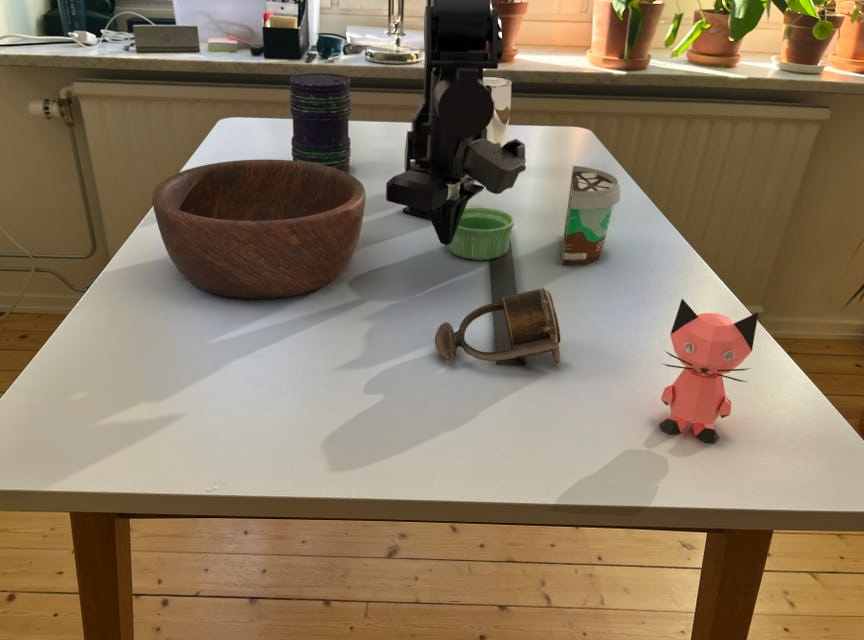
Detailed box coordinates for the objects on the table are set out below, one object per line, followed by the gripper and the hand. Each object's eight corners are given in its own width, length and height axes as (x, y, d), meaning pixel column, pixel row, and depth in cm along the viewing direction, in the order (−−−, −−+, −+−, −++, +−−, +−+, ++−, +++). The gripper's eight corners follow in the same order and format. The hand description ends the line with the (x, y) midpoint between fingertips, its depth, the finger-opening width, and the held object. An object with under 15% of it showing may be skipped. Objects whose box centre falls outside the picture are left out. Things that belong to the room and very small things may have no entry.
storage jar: (281, 174, 136) (277, 81, 129) (308, 159, 144) (306, 71, 137) (335, 182, 133) (334, 87, 126) (360, 166, 141) (360, 76, 134)
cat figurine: (643, 436, 71) (669, 313, 65) (654, 399, 77) (679, 281, 71) (729, 457, 69) (764, 331, 63) (734, 417, 74) (767, 297, 68)
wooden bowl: (184, 230, 112) (176, 156, 107) (365, 233, 113) (366, 159, 108) (138, 310, 91) (126, 221, 86) (363, 313, 91) (364, 226, 86)
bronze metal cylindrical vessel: (563, 342, 74) (583, 280, 81) (430, 307, 77) (460, 250, 84) (550, 397, 79) (569, 334, 86) (425, 362, 82) (453, 304, 89)
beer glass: (511, 170, 141) (520, 80, 133) (493, 180, 136) (501, 87, 128) (475, 163, 144) (481, 75, 137) (456, 173, 139) (462, 81, 131)
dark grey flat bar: (526, 366, 82) (526, 365, 82) (496, 364, 82) (496, 363, 82) (509, 232, 115) (509, 231, 115) (487, 231, 115) (487, 230, 115)
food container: (611, 273, 102) (625, 196, 98) (562, 268, 103) (572, 192, 99) (608, 239, 113) (620, 168, 108) (563, 235, 114) (573, 164, 109)
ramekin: (446, 262, 105) (447, 229, 102) (441, 237, 112) (442, 206, 110) (516, 262, 105) (519, 230, 102) (506, 237, 112) (509, 206, 110)
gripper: (474, 143, 83) (463, 285, 90) (554, 111, 96) (538, 237, 104) (384, 126, 88) (381, 260, 96) (471, 98, 101) (463, 218, 109)
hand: (445, 243), depth 101 cm, fingers closed
